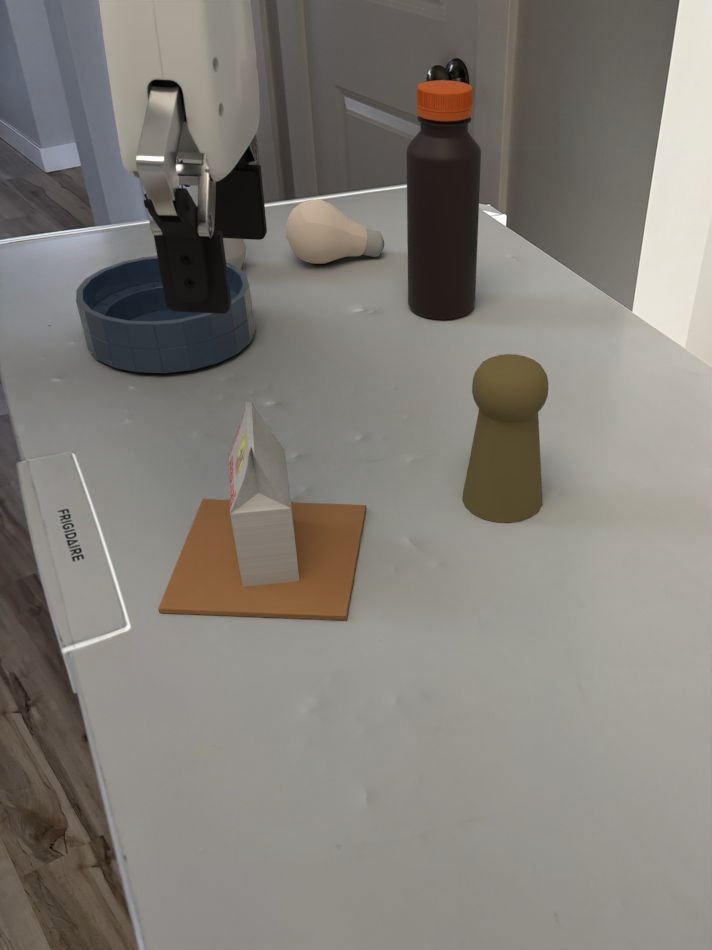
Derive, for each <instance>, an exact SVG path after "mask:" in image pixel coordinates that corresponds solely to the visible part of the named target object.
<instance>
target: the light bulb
mask: <svg viewBox="0 0 712 950" xmlns="http://www.w3.org/2000/svg"><path fill="white" fill-rule="evenodd" d="M285 238H286V240H287V243H288V245H289V247H290V249H291V251H292V252H293V254H295V255H296V256H297V258H298V259H300V260H301V261H304V262H307V263H309V264H311V265H317V264H318V265H320V264H321V265H323V264H325V265H326V264H328V263H330V262H334V261H336V260H340V259H343V258H346V257H360V256H366V257H371V258H378V257H379V256H380V254H381V253H382V252H383V251H384V248H385V240H384V238H383V234H382V232H381V231H380V230H376V229H375V230H374V229H370V228H365V226H364V225H363V224H360V223H358V222H355V221H353V220H352V219H350V218H349V217H347V216H346V215H345V214H344V213H343V212H341V211H340V210H339V209H338V208H337V207H336V206H335V205H333V204H332V203H330V202H327V201H325V200H323V199H307V200H305V201H302V202H300V203H298V204H297V205H296V206H295V207H294V208H293V209H291V211H290V213H289V216H288V218H287V219H286V227H285Z"/></svg>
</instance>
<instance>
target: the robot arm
mask: <svg viewBox="0 0 712 950" xmlns="http://www.w3.org/2000/svg"><path fill="white" fill-rule="evenodd" d="M98 4H99V13H100V22H101V31H102V39H103V45H104V53H105V60H106V65H107V66H106V68H107V73H108V79H109V80H108V81H109V89H110V95H111V101H112V107H113V115H114V120H115V121H114V122H115V127H116V134H117V140H118V146H119V152H120V158H121V162H122V165H123V168H124V170H125V171H126V172H127V173H128V174H129V175H130V176H131V177H133V178H134V179H135V178H136V179H140V182H141V184H142V187H143V189H144V192H145V193H144V194H143V196H144V198H145V199H143V205H144V207H145V209H147V212H148V214H149V216H148V217H149V218H148V219H149V221H148V222H149V227H150V232H151V234H152V235H153V239H154V245H155V250H156V251H155V252H156V256H157V257H158V262H159V268H160V274H161V279H162V285H163V290H164V296H165V302H166V305H167V307H168V308H169V309H170V310H172V311H179V312H199V313H219V314H224V313H227V312H228V310H229V308H230V306H231V297H230V289H229V281H228V273H227V266H226V258H225V250H224V243H223V238H233V239H243V240H254V241H261V240H264V238H265V237H266V235H267V233H268V228H267V227H268V226H267V217H266V216H267V215H266V208H265V207H266V206H265V197H264V186H263V175H262V166H261V164H258V163H259V157H260V155H259V154H260V151H259V150H260V149H259V142H258V140H257V136H256V135H257V132H258V129H259V125H260V120H261V103H260V84H259V83H260V82H259V70H258V58H257V49H256V40H255V30H254V29H255V28H254V21H253V11H252V4H251V0H98ZM182 159H187V160H202V164H198V163H183V162H177V160H182ZM180 185H181V186H190V185H197V186H198V199H197V206H196V204H195V202H194V201H193V199H192V197H191V196H190V191H189V190H188V189H187V188H185V187H180Z"/></svg>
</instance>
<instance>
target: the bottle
mask: <svg viewBox="0 0 712 950" xmlns="http://www.w3.org/2000/svg"><path fill="white" fill-rule="evenodd" d="M473 99H474V88H473V86H472V85H471V84H468V83H467V82H463V81H458V80H448V79H447V80H445V79H440V80H439V79H437V80H435V79H434V80H428V81H424V82H421V83H419V84H418V85H417V86H416V114H417V121H418V122H419V123H420V130H419V131H418V132H417V134H416V135H415V136H414V137H413V138H412V139H411V141H410V142H409V143H408V146H407V148H406V219H407V220H406V225H407V226H406V229H407V230H406V231H407V234H406V235H407V237H406V238H407V239H406V240H407V243H406V244H407V304H408V306H409V308H410V309H411V311H413V312H414V313H415V314H417V315H418V316H421V317H423V318H427V319H432V320H443V321H444V320H453V319H458V318H463V317H464V316H467V315H468V314H470V313H471V312H472V311H473V310H474V309H475V305H476V291H477V290H476V286H477V266H478V265H477V264H478V263H477V262H478V261H477V260H478V243H479V242H478V241H479V240H478V237H479V213H480V212H479V211H480V187H481V167H482V164H481V163H482V149H481V146H480V145H479V144H478V143H477V141H476V140H475V139H474V137H473V136H472V135H471V134H470V132H469V124H470V123H471V122H472V115H473Z"/></svg>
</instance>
